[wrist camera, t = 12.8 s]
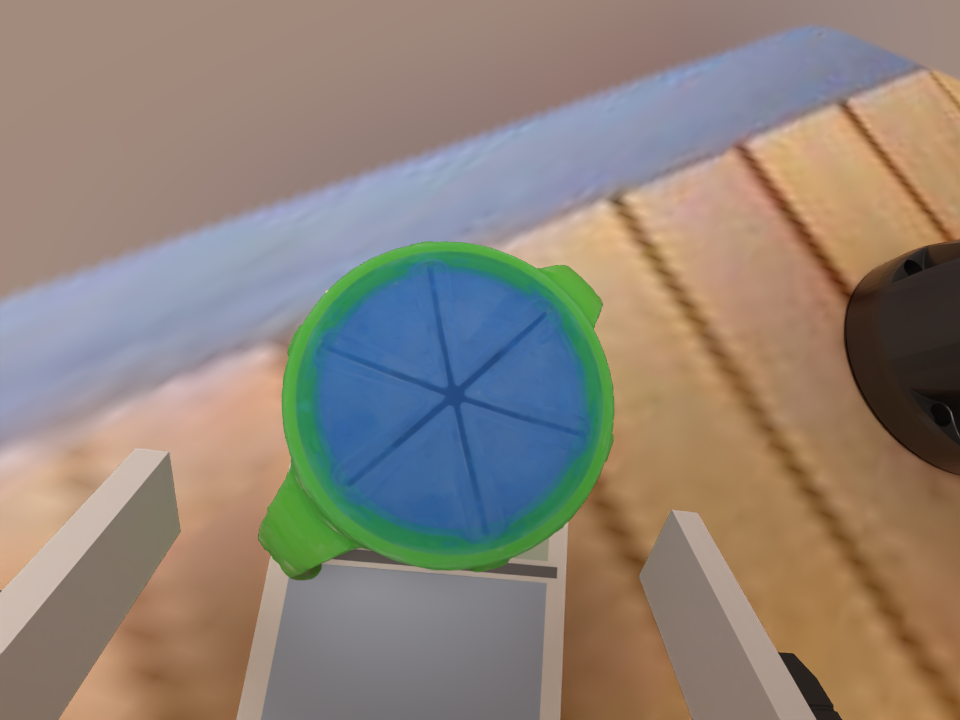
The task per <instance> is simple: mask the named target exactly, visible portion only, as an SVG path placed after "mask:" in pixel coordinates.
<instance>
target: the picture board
mask: <svg viewBox="0 0 960 720" xmlns="http://www.w3.org/2000/svg"><path fill="white" fill-rule="evenodd" d="M327 291H328V290H326V292H327ZM290 466H291V461H290V465H289V470H290ZM289 470H288V472H289ZM567 543H568V522H567V523H566V524H565V525H564V527H563V528H562V529H560V530H559V531H558V532H556V533H554V534H553V535H552V536H551V537H550V538H548V539H546V540H545V541H543V542H542V543H540V544H538V545H537V546H535V547H534V548H532V549H530V550H528V551H526V552H524V553H522V554H520V555H518V556H515V557H513V558H511V559H510V560H509V562H508V563H507V564H506V565H504V566H502V567H498V568H495V569H491V570H487V571H483V572H473V571H471V570H469V569H463V570H452V571H446V570H430V569H425V568H420V567H416V566H412V565H408V564H405V563H401V562H397V561H394V560H391V559H389V558H387V557H384V556H382V555H380V554H378V553H375V552H373V551H372V550H368V549H364V548H358V549H354V550H351V551H348V552H347V553H344V554H342V555H339V556H337V557H334V558H333V559H331V560H329V561H327V562H324V563H322V569H321V571H320V572H319V574H318V575H317V576H316V577H315V578H313V579H311V580H309V579H308V580H304V581H303V580H294V579H291V578H289V577H288V576H287V575H286V574H285V573H284V572H283V571H282V569H281V567H280V565H279V564H278V563H277V562H276V561H275V560H273V558H272V556H270V561H269V566H268V570H267V575H266V580H265V585H264V589H263V594H262V599H261V604H260V609H259V613H258V618H257V623H256V628H255V632H254V637H253V642H252V647H251V651H250V656H249V661H248V666H247V671H246V675H245V680H244V685H243V690H242V694H241V699H240V704H239V709H238V713H237V718H236V720H560V714H561V690H562V665H563V641H564V616H565V592H566V568H567Z"/></svg>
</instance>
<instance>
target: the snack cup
mask: <svg viewBox="0 0 960 720" xmlns="http://www.w3.org/2000/svg"><path fill="white" fill-rule="evenodd" d="M602 305H603V303H602V301H601V299H600V297H599V296H598V295H597V294H596V293H595V292H594V290H593V289H592V288H591V286H589V285H588V284H587V283H586V282H585V281H584V280H583V279H582V278H581V277H580V276H579V275H578V274H577V273H576V272H575V271H573V270H572V269H571V268H570V267H568V266H565V265H555V266H550V267H545V268H541V269H540V268H537V269H536V268H535V267H533V266H532V265H530V264H528V263H526V262H524V261H522V260H520V259H518V258H516V257H514V256H512V255H509V254H507V253H504V252H501V251H499V250H496V249H493V248H490V247H486V246H481V245H476V244H469V243H462V242H421V243H417V244H412V245H410V246H407V247H402V248H398V249H395V250H391V251H389V252H386V253H384V254H381V255H379V256H377V257H374V258H372V259H370V260H368V261H366V262H364V263H363V264H361V265H360V266H358V267H356V268H354V269H353V270H351V271H350V272H349V273H347V274H346V275H345V276H344V277H343V278H341V279H340V280H339V281H337V282H336V283H335V284H334V285H333V286H332V287H331V288H330V289H329V290H328V291H327V292H326V293H325V294H324V295H323V296H322V298H321V299H320V300H319V301H318V303H317V304H316V305H315V306H314V308H313V309H312V311H311V312H310V314H309V315H308V317H307V318H306V320H305V321H304V323H303V324H302V325H301V326H299V328H298V330H297V331H296V333H295V334H294V336H293V338H292V341H291V344H290V345H289V348H288V361H287V365H286V369H285V372H284V378H283V389H282V415H283V425H284V433H285V438H286V441H287V445H288V448H289V452H290V456H291V466H290V470H289V472H288V473H287V476H286V479H285V481H284V482H283V484H282V486H281V487H280V489H279V491H278V492H277V494H276V496H275V498H274V500H273V502H272V503H271V505H270V506H269V507H268V511H267V515H266V516H265V518H264V519H263V521H262V523H261V526H260V529H259V534H258V540H259V542H260V543H261V545H262V546H263V548H264V549H265V550H267V551H268V552H269V553H270V554H271V556H272V558H273V560H275V561H276V562H277V563H278V564H279V565H280V567H281V569H282V571H283V572H284V573H285V574H286V575H287V576H288V577H289V578H291V579H294V580H303V581H304V580H308V579H309V580H311V579H313V578H315V577H316V576H317V575H318V574H319V572H320V571H321V569H322V563H324V562H327V561H329V560H331V559H333V558H334V557H337V556H339V555H342V554H344V553H347V552H348V551H351V550H354V549H358V548H364V549H368V550H372V551H373V552H375V553H378V554H380V555H382V556H384V557H387V558H389V559H391V560H394V561H397V562H401V563H405V564H408V565H412V566H416V567H420V568H425V569H430V570H446V571H452V570H463V569H469V570H471V571H473V572H483V571H487V570H491V569H495V568H498V567H502V566H504V565H506V564H507V563H508V562H509V560H510V559H511V558H513V557H515V556H518V555H520V554H522V553H524V552H526V551H528V550H530V549H532V548H534V547H535V546H537V545H538V544H540V543H542V542H543V541H545V540H546V539H548V538H550V537H551V536H552V535H553V534H554V533H556V532H558V531H559V530H560V529H562V528H563V527H564V525H565V524H566V523H567V522H568V521H569V520H570V519H571V518H572V517H573V516H574V514H575V513H576V512H577V511H578V509H579V508H580V507H581V506H582V504H583V503H584V502H585V500H586V499H587V497H588V495H589V494H590V492H591V490H592V489H593V487H594V485H595V483H596V481H597V479H598V477H599V475H600V473H601V470H602V468H603V465H604V463H605V462H606V461H607V458H608V455H609V452H610V450H611V447H612V444H613V441H614V440H613V434H612V431H613V419H614V396H613V384H612V379H611V374H610V371H609V367H608V363H607V360H606V357H605V354H604V351H603V349H602V346H601V344H600V341H599V339H598V337H597V335H596V333H595V331H594V327H595V324H596V322H597V319H598V317H599V314H600V312H601V308H602Z"/></svg>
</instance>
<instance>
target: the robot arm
mask: <svg viewBox="0 0 960 720" xmlns="http://www.w3.org/2000/svg"><path fill="white" fill-rule="evenodd" d="M846 335H847V346H848V352H849V356H850V361H851V364H852V367H853V371H854V373H855V376H856V379H857V381H858V383H859V386H860V388H861V390H862V392H863V394H864V396H865V397H866V399H867V401H868V402H869V404H870V406H871V407H872V409H873V410H874V412H875V413H876V415H877V416H878V417H879V419H880V420H881V421H882V422H883V424H884V425H885V426H886V427H887V428H888V429H889V430H890V432H891V433H892V434H893V435H894V436H895V437H896V438H897V439H898V440H899V441H901V442H902V443H903V444H904V445H905V446H906V447H907V448H909V449H910V450H911V451H913V452H914V453H915V454H917V455H918V456H920V457H921V458H923V459H924V460H926V461H928V462H929V463H931V464H933V465H935V466H937V467H939V468H941V469H944V470H946V471H949V472H952V473H955V474H959V475H960V239H959V240H954V241H948V242H943V243H938V244H932V245H928V246H924V247H921V248H918V249H915V250H912V251H910V252H907V253H905V254H903V255H901V256H899V257H897V258H895V259H893V260H891V261H889V262H887V263H885V264H883V265H881V266H879V267H877V268H876V269H874V270H873V271H872V272H870V273H869V274H868V275H867V276H866V277H865V278H864V279H863V280H862V282H861V283H860V284H859V286H858V287H857V289H856V291H855V293H854V295H853V297H852V299H851V302H850V306H849V310H848V315H847V326H846ZM180 532H181V530H180V524H179V517H178V510H177V503H176V496H175V489H174V482H173V475H172V468H171V461H170V454H169V452H168V451H159V450H150V449H142V448H135V449H134V450H133V451H132V452H131V454H130V455H129V456H128V457H127V458H126V459H125V460H124V461H123V462H122V463H121V464H120V465H119V466H118V467H117V469H116V470H115V471H114V472H113V473H112V474H111V475H110V476H109V477H108V478H107V479H106V480H105V481H104V482H103V483H102V485H101V486H100V487H99V488H98V489H97V490H96V491H95V492H94V493H93V494H92V495H91V496H90V497H89V498H88V499H87V501H86V502H85V503H84V504H83V505H82V506H81V507H80V508H79V509H78V510H77V511H76V512H75V513H74V514H73V516H72V517H71V518H70V519H69V520H68V521H67V522H66V523H65V524H64V525H63V526H62V527H61V528H60V529H59V530H58V532H57V533H56V534H55V535H54V536H53V537H52V538H51V539H50V540H49V541H48V542H47V543H46V544H45V545H44V546H43V548H42V549H41V550H40V551H39V552H38V553H37V554H36V555H35V556H34V557H33V558H32V559H31V560H30V561H29V562H28V564H27V565H26V566H25V567H24V568H23V569H22V570H21V571H20V572H19V573H18V574H17V575H16V576H15V577H14V579H13V580H12V581H11V582H10V583H9V584H8V585H7V586H6V587H5V588H4V589H3V590H2V591H1V590H0V720H58V719H59V718H60V716H61V715H62V713H63V711H64V710H65V708H66V707H67V705H68V704H69V702H70V701H71V699H72V698H73V696H74V695H75V693H76V692H77V690H78V688H79V687H80V685H81V684H82V682H83V681H84V679H85V678H86V676H87V675H88V673H89V672H90V670H91V668H92V667H93V665H94V664H95V662H96V661H97V659H98V658H99V656H100V655H101V653H102V652H103V650H104V648H105V647H106V645H107V644H108V642H109V641H110V639H111V638H112V636H113V635H114V633H115V632H116V630H117V628H118V627H119V625H120V624H121V622H122V621H123V619H124V618H125V616H126V615H127V613H128V612H129V610H130V609H131V607H132V605H133V604H134V602H135V601H136V599H137V598H138V596H139V595H140V593H141V592H142V590H143V589H144V587H145V585H146V584H147V582H148V581H149V579H150V578H151V576H152V575H153V573H154V572H155V570H156V569H157V567H158V565H159V564H160V562H161V561H162V559H163V558H164V556H165V555H166V553H167V552H168V550H169V549H170V547H171V546H172V544H173V542H174V541H175V539H176V538H177V536H178V535H179V533H180ZM639 578H640V581H641V584H642V586H643V589H644V592H645V594H646V597H647V600H648V602H649V605H650V608H651V610H652V613H653V616H654V618H655V621H656V624H657V626H658V629H659V632H660V634H661V637H662V640H663V643H664V645H665V648H666V651H667V653H668V656H669V659H670V661H671V664H672V667H673V669H674V672H675V675H676V677H677V680H678V683H679V685H680V688H681V691H682V693H683V696H684V699H685V701H686V704H687V707H688V709H689V712H690V715H691V717H692V720H842V719H841V717H840V716H839V714H838V712H836V711H834V709H833V704H832V703H831V701H830V699H829V698H828V696H827V695H826V693H825V691H824V690H823V688H822V686H821V685H820V683H819V682H818V680H817V678H816V677H815V676H814V675H813V674H812V673H811V672H810V671H809V670H808V669H807V668H806V667H805V665H804V664H803V663H802V662H801V661H800V660H799V659H798V658H797V657H796V656H795V655H794V654H792V653H780V652H777V650H776V648H775V647H774V645H773V643H772V641H771V640H770V638H769V636H768V634H767V633H766V631H765V629H764V627H763V626H762V624H761V622H760V620H759V619H758V617H757V615H756V613H755V612H754V610H753V608H752V606H751V605H750V603H749V601H748V600H747V598H746V596H745V594H744V593H743V591H742V589H741V587H740V586H739V584H738V582H737V580H736V579H735V577H734V575H733V573H732V572H731V570H730V568H729V566H728V565H727V563H726V561H725V559H724V558H723V556H722V554H721V552H720V551H719V549H718V547H717V546H716V544H715V542H714V540H713V539H712V537H711V535H710V533H709V532H708V530H707V528H706V526H705V525H704V523H703V521H702V519H701V518H700V516H699V514H698V513H696V512H688V511H679V510H671V512H670V514H669V516H668V518H667V520H666V522H665V524H664V526H663V528H662V530H661V532H660V534H659V536H658V538H657V540H656V542H655V544H654V546H653V548H652V550H651V553H650V555H649V557H648V559H647V561H646V563H645V565H644V567H643V569H642V571H641V573H640V575H639Z"/></svg>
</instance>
